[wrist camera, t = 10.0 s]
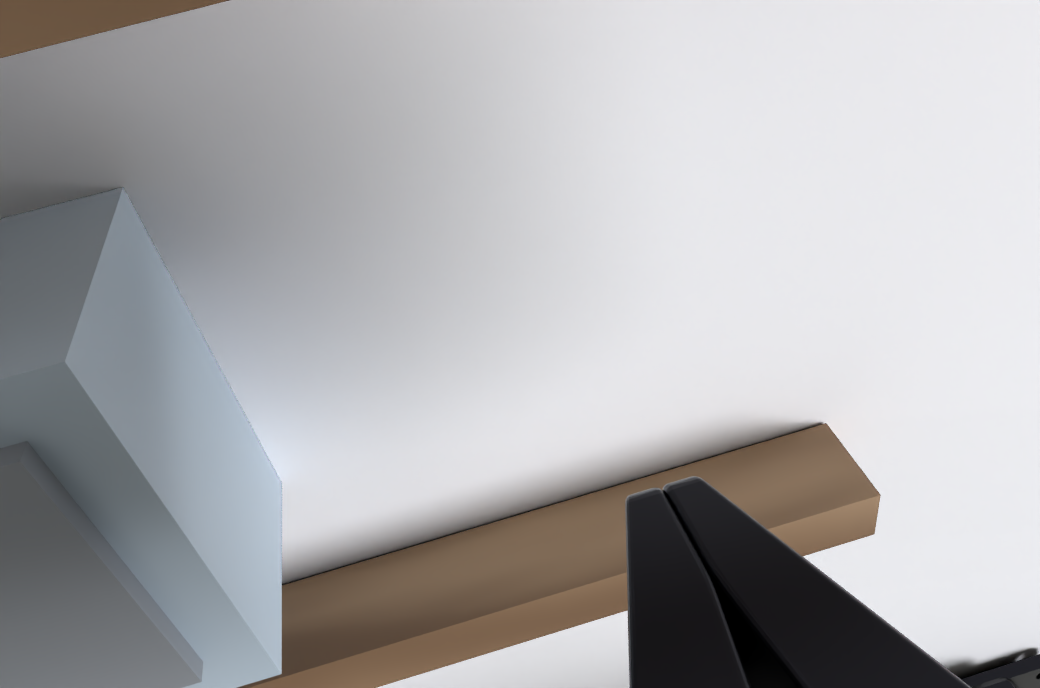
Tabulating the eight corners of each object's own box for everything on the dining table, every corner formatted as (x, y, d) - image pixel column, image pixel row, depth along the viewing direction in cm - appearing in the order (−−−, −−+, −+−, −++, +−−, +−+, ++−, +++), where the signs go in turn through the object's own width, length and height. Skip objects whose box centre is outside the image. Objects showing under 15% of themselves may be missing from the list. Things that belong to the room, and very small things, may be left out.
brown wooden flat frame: (822, 461, 18) (903, 575, 15) (-373, 822, 16) (-483, 1008, 14) (890, -332, 9) (1092, -346, 7) (-1598, 261, 8) (-2404, 499, 5)
